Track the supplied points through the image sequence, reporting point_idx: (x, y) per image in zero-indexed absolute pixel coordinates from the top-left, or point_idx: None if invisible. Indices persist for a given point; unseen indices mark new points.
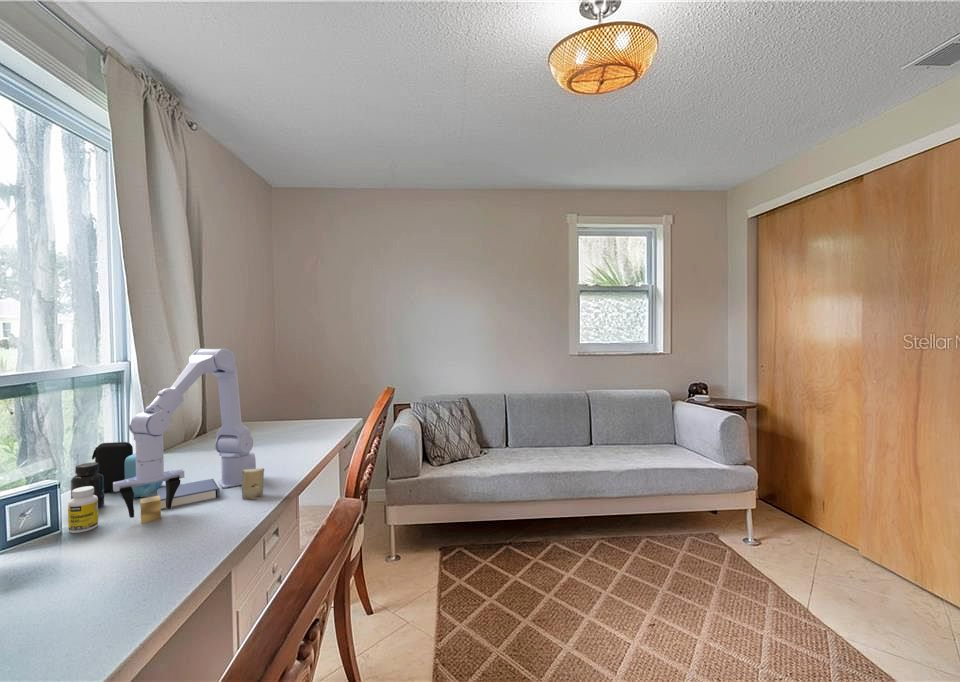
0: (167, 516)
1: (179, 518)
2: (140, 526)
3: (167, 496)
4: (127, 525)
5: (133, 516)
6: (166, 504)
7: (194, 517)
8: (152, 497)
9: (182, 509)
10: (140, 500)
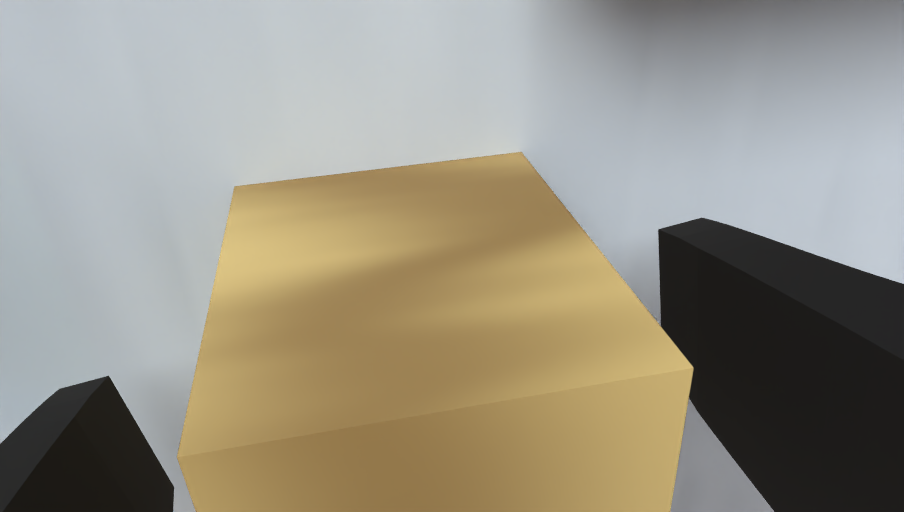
0: None
1: (703, 439)
2: None
3: (815, 430)
4: None
5: (163, 503)
6: (689, 294)
7: None
8: (508, 455)
9: (831, 113)
10: (188, 442)
